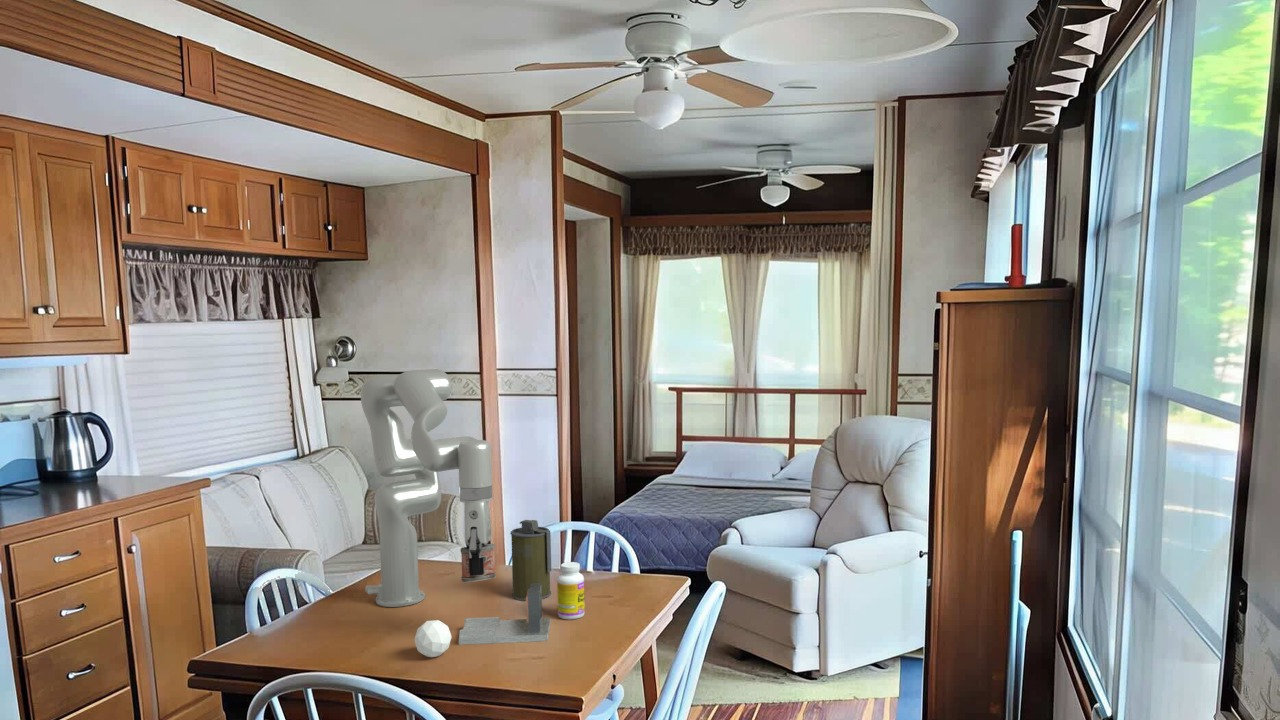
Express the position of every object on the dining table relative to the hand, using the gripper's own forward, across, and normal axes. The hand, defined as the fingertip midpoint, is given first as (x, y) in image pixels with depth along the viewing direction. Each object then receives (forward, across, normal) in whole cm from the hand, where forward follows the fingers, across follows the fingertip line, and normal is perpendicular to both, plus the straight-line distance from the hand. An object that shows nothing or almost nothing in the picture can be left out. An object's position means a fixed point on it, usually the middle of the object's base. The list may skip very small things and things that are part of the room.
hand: (478, 570), depth 193 cm
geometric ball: (+15, -11, +9) cm, 21 cm away
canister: (+15, +29, -10) cm, 34 cm away
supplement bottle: (+15, +11, -21) cm, 28 cm away
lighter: (+2, 0, 0) cm, 2 cm away
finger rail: (+15, 0, -6) cm, 16 cm away
